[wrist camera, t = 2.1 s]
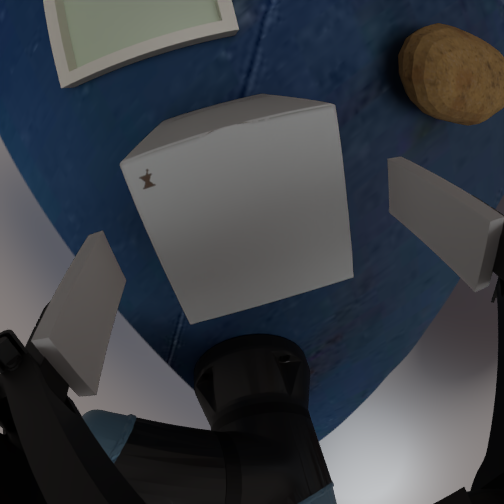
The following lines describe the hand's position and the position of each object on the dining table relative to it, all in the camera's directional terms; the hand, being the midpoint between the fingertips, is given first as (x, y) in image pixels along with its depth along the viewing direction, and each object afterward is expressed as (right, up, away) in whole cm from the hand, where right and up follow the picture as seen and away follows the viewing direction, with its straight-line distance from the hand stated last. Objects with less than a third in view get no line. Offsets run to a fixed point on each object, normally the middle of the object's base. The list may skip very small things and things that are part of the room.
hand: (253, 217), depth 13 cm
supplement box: (-2, +7, +13) cm, 15 cm away
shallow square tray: (-10, +20, +4) cm, 23 cm away
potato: (+18, +17, +11) cm, 27 cm away
